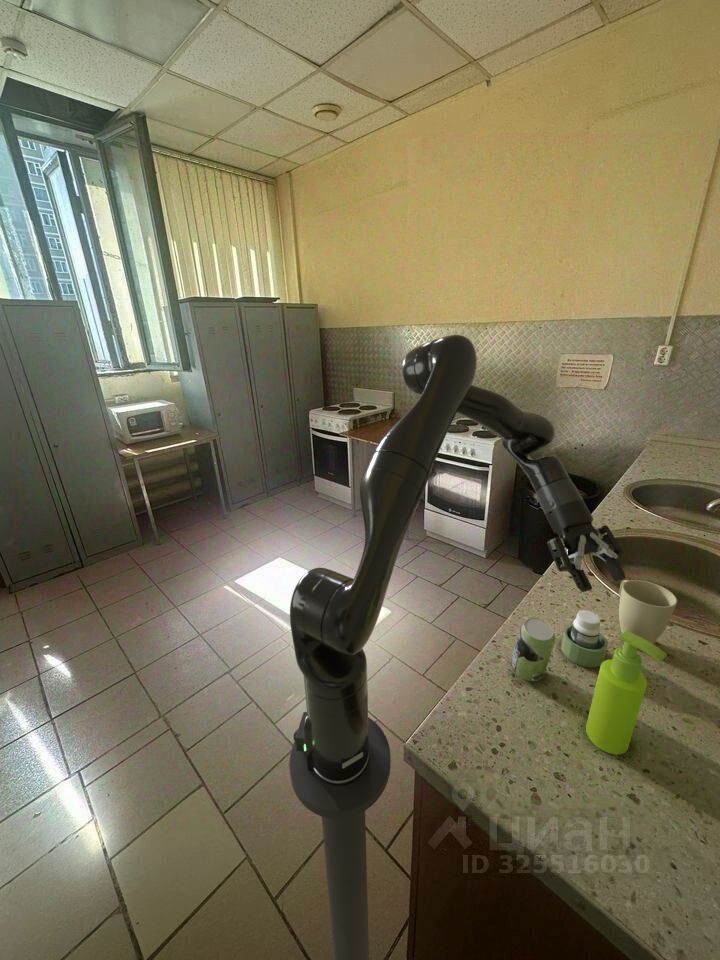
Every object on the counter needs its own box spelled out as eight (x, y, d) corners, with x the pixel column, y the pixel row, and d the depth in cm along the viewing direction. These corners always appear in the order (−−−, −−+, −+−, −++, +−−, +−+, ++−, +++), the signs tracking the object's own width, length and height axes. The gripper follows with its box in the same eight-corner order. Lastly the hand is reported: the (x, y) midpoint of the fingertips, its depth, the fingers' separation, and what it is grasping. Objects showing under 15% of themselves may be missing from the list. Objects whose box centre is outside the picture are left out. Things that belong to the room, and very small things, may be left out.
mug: (671, 642, 82) (686, 594, 78) (651, 664, 77) (666, 613, 73) (615, 614, 91) (626, 569, 86) (593, 632, 85) (603, 585, 81)
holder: (568, 665, 77) (571, 649, 76) (556, 637, 84) (559, 622, 83) (610, 669, 76) (614, 653, 74) (594, 641, 83) (598, 625, 81)
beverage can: (532, 657, 79) (540, 608, 75) (555, 687, 72) (565, 635, 68) (503, 661, 78) (509, 612, 74) (523, 692, 71) (532, 640, 67)
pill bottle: (570, 638, 83) (576, 605, 80) (595, 647, 80) (603, 613, 78) (566, 652, 79) (573, 618, 76) (593, 662, 77) (601, 628, 74)
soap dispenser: (623, 768, 59) (654, 664, 52) (578, 731, 64) (601, 633, 57) (642, 747, 62) (675, 646, 55) (598, 713, 67) (622, 618, 60)
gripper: (576, 507, 85) (615, 581, 78) (523, 518, 80) (561, 598, 74) (603, 492, 78) (648, 572, 72) (548, 504, 73) (591, 590, 67)
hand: (603, 585), depth 73 cm, fingers open, 8 cm apart
